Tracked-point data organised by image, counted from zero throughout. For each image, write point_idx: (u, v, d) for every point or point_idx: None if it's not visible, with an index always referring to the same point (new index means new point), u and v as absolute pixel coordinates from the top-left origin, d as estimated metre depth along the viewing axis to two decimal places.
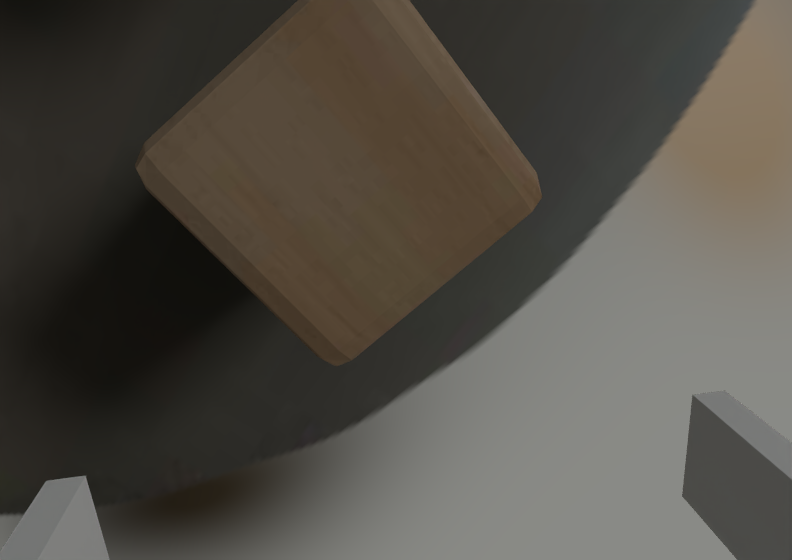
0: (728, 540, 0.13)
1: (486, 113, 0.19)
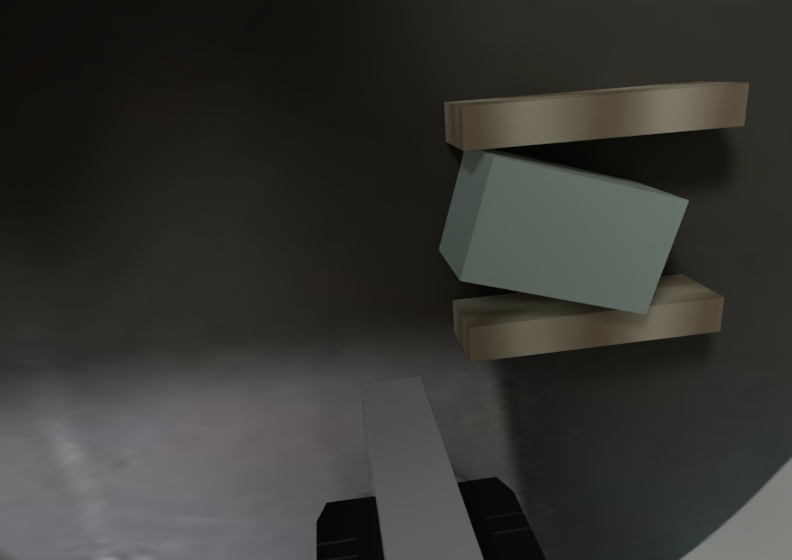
0: None
1: None
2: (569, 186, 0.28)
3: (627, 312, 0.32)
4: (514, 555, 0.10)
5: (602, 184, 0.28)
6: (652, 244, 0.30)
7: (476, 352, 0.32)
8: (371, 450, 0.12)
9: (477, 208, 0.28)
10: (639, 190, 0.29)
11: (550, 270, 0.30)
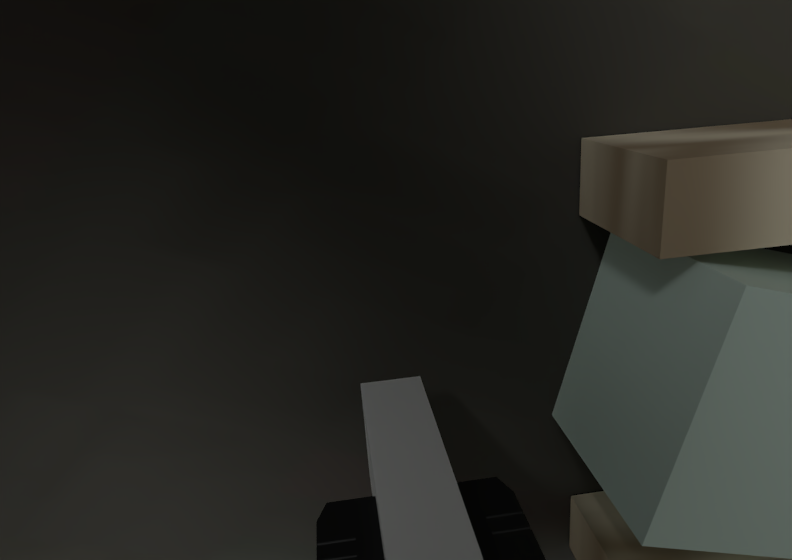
0: None
1: None
2: None
3: None
4: (514, 555, 0.10)
5: None
6: None
7: None
8: (371, 450, 0.12)
9: (691, 395, 0.12)
10: None
11: None
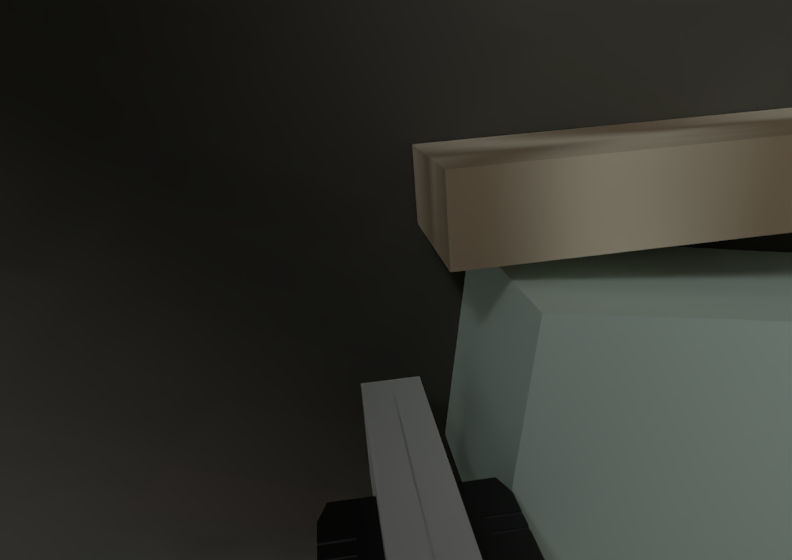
0: None
1: None
2: (732, 346, 0.12)
3: None
4: (513, 555, 0.10)
5: None
6: None
7: None
8: (372, 450, 0.12)
9: (517, 425, 0.12)
10: None
11: (698, 523, 0.13)
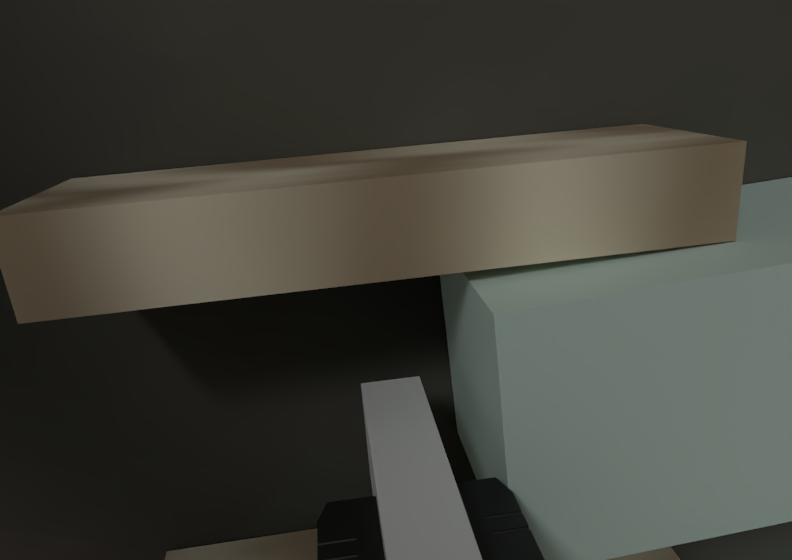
0: None
1: None
2: (704, 306, 0.11)
3: None
4: (513, 555, 0.10)
5: (785, 272, 0.11)
6: None
7: None
8: (372, 450, 0.12)
9: (499, 427, 0.12)
10: None
11: (713, 487, 0.13)
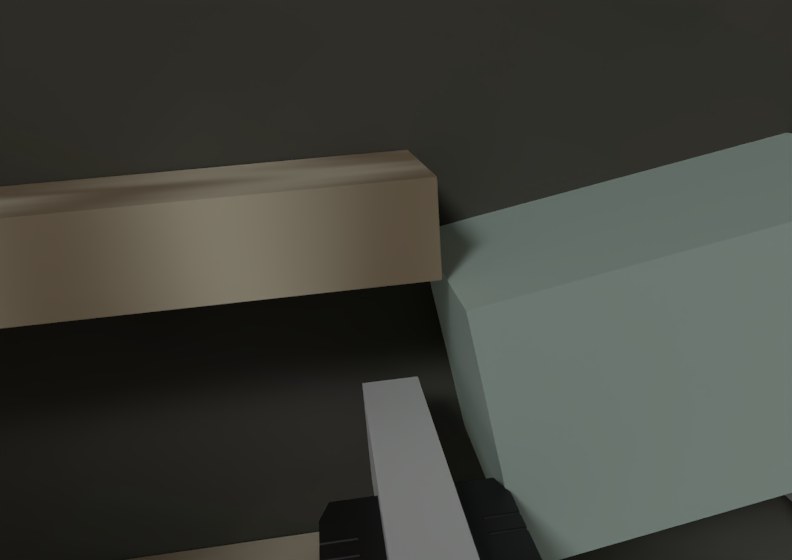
0: None
1: None
2: (683, 281, 0.11)
3: None
4: (510, 555, 0.10)
5: (764, 238, 0.11)
6: None
7: None
8: (373, 450, 0.12)
9: (488, 422, 0.12)
10: None
11: (716, 462, 0.12)
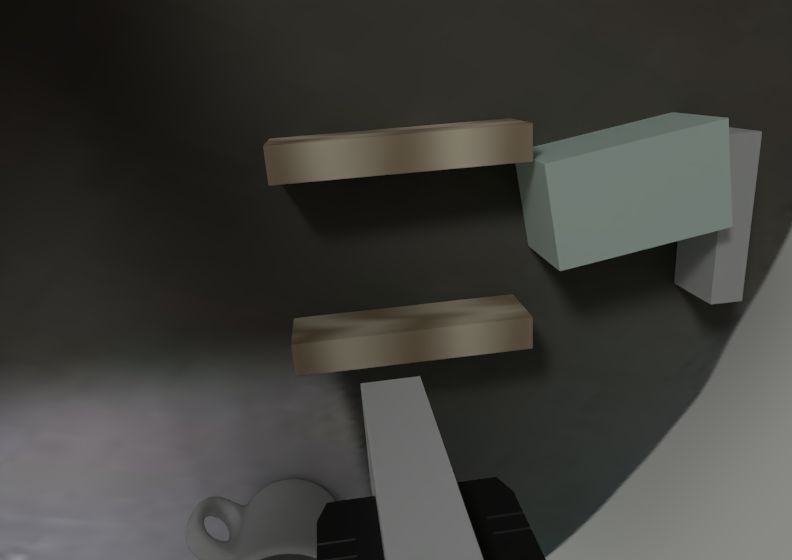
0: None
1: None
2: (618, 156, 0.32)
3: (441, 330, 0.35)
4: (513, 555, 0.10)
5: (645, 142, 0.32)
6: (712, 168, 0.33)
7: (300, 367, 0.35)
8: (371, 450, 0.12)
9: (549, 208, 0.33)
10: (680, 131, 0.32)
11: (632, 229, 0.33)
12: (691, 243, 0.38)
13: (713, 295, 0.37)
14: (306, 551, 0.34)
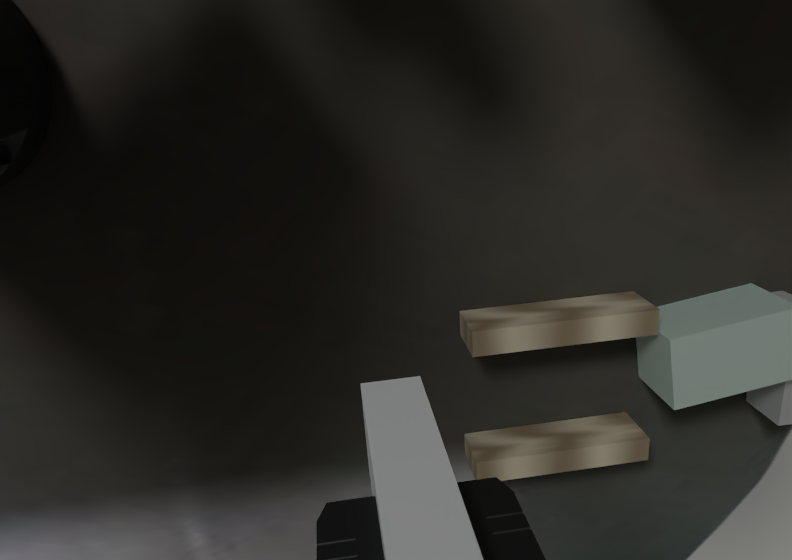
0: None
1: None
2: (721, 333, 0.44)
3: (583, 450, 0.48)
4: (514, 555, 0.10)
5: (741, 323, 0.44)
6: (786, 339, 0.45)
7: (481, 477, 0.47)
8: (371, 450, 0.12)
9: (669, 368, 0.45)
10: (766, 316, 0.44)
11: (727, 381, 0.46)
12: None
13: (780, 419, 0.49)
14: None
